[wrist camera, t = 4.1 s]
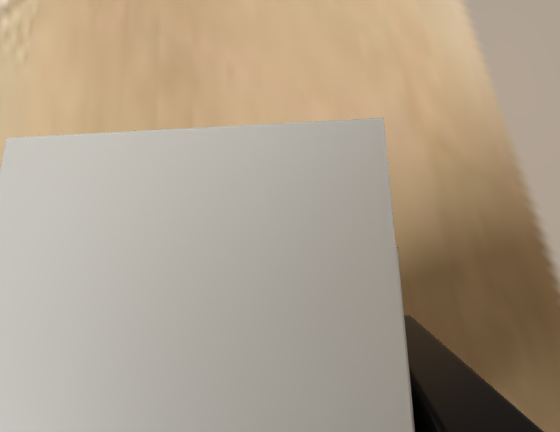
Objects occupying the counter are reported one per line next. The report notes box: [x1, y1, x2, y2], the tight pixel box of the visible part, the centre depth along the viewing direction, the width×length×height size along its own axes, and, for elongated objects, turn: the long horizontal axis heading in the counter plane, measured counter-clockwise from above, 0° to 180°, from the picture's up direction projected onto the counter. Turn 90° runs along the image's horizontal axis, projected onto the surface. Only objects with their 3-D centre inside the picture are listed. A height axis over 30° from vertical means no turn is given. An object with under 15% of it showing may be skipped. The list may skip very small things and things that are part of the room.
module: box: [0, 118, 415, 432], centre depth 9 cm, size 5×4×12 cm
